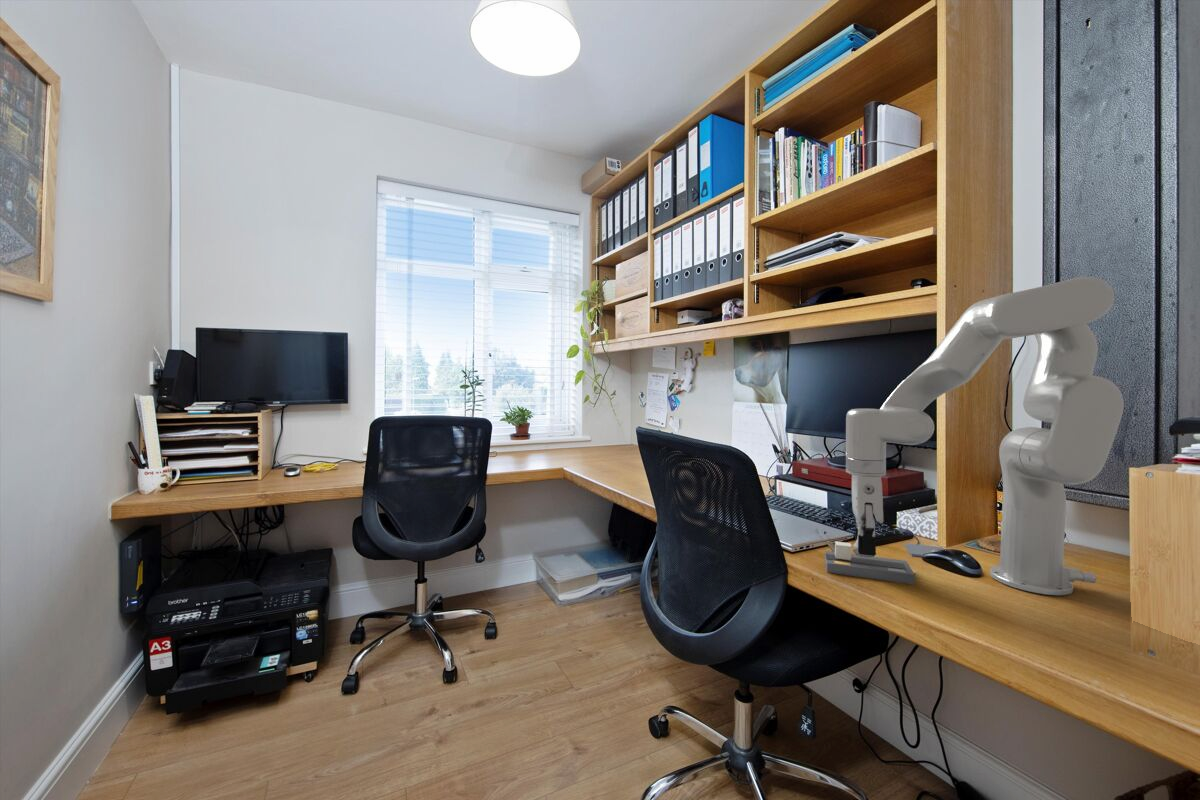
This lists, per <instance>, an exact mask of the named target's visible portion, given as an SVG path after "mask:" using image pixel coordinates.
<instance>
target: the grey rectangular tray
mask: <svg viewBox="0 0 1200 800" xmlns="http://www.w3.org/2000/svg"><path fill="white" fill-rule="evenodd" d="M824 562H825V569H826V573H830V574H835V575H836V574H837V575H844V576H852V577H858V578H865V579H872V580H873V579H874V580H879V581H880V580H881V581H888V582H896V583H901V584H907V585H915V584H916V583H915V582H916V581H915V580H916V579H915V578H916V574H915V573H914V570H913V569H912V567H911V566H910V565H909V563H908V561H907V560H905V559H904V560H903V559H894V558H889V557H887V558H886V557H881V556H880V557H879V556H874V557H862V556H858V555H856V554H855V553H851V560H844V559H837V558H836V557H835V552H833V551H832V550H824Z"/></svg>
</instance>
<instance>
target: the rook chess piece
mask: <svg viewBox="0 0 1200 800" xmlns="http://www.w3.org/2000/svg"><path fill="white" fill-rule="evenodd" d="M862 521H866V519H865V518H862ZM856 522H857V523H858V527H856V528H857V529H858V535H860V524H859V521H858V520H856V519H855V523H856ZM864 526H865V524H863V527H864ZM852 547H853V548H852V551H853V554H856V555H858V556H862V557H875V556H871V555H862V554H859V553H858V537H857V541H856V543H855V542H854V543H853V545H852Z"/></svg>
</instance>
